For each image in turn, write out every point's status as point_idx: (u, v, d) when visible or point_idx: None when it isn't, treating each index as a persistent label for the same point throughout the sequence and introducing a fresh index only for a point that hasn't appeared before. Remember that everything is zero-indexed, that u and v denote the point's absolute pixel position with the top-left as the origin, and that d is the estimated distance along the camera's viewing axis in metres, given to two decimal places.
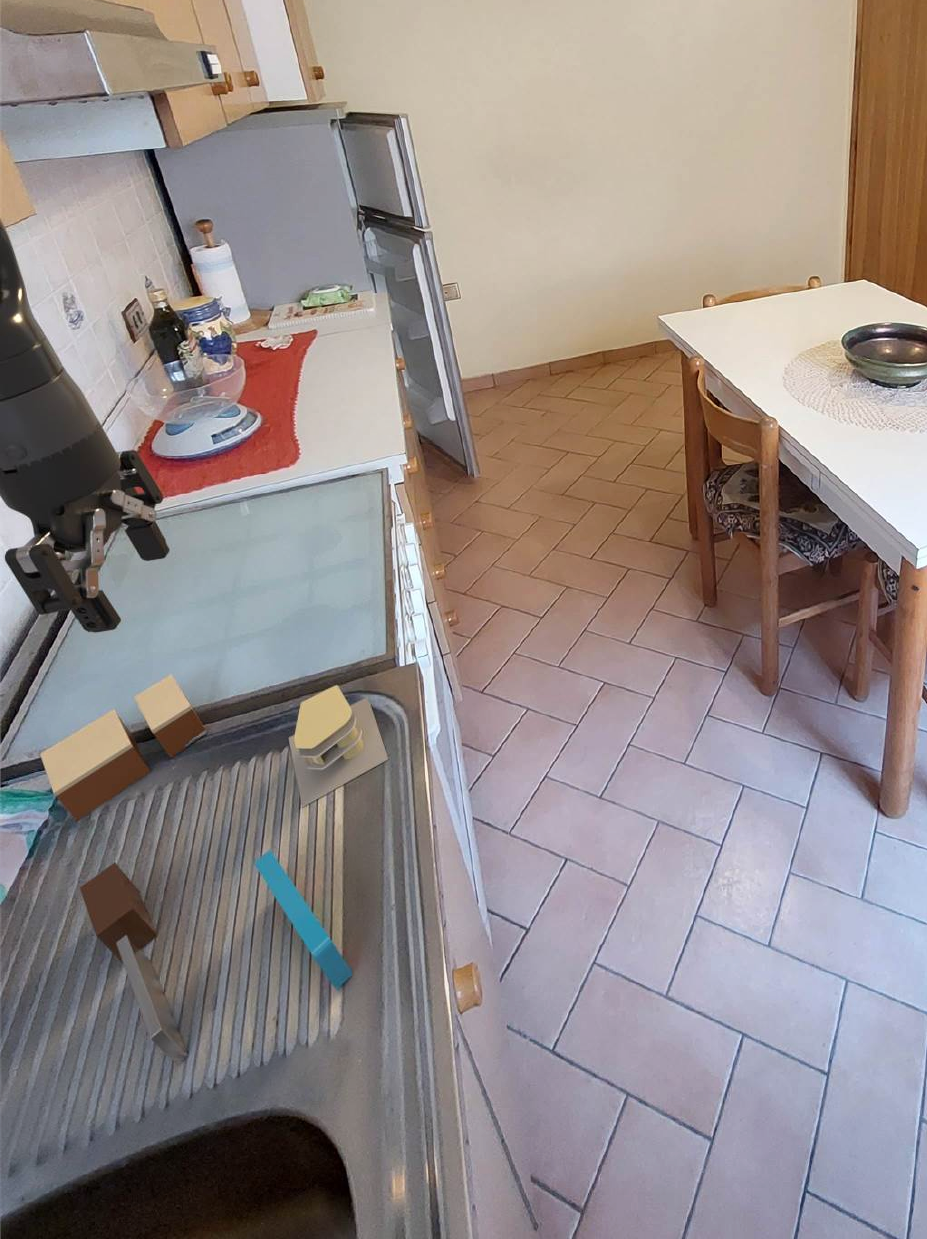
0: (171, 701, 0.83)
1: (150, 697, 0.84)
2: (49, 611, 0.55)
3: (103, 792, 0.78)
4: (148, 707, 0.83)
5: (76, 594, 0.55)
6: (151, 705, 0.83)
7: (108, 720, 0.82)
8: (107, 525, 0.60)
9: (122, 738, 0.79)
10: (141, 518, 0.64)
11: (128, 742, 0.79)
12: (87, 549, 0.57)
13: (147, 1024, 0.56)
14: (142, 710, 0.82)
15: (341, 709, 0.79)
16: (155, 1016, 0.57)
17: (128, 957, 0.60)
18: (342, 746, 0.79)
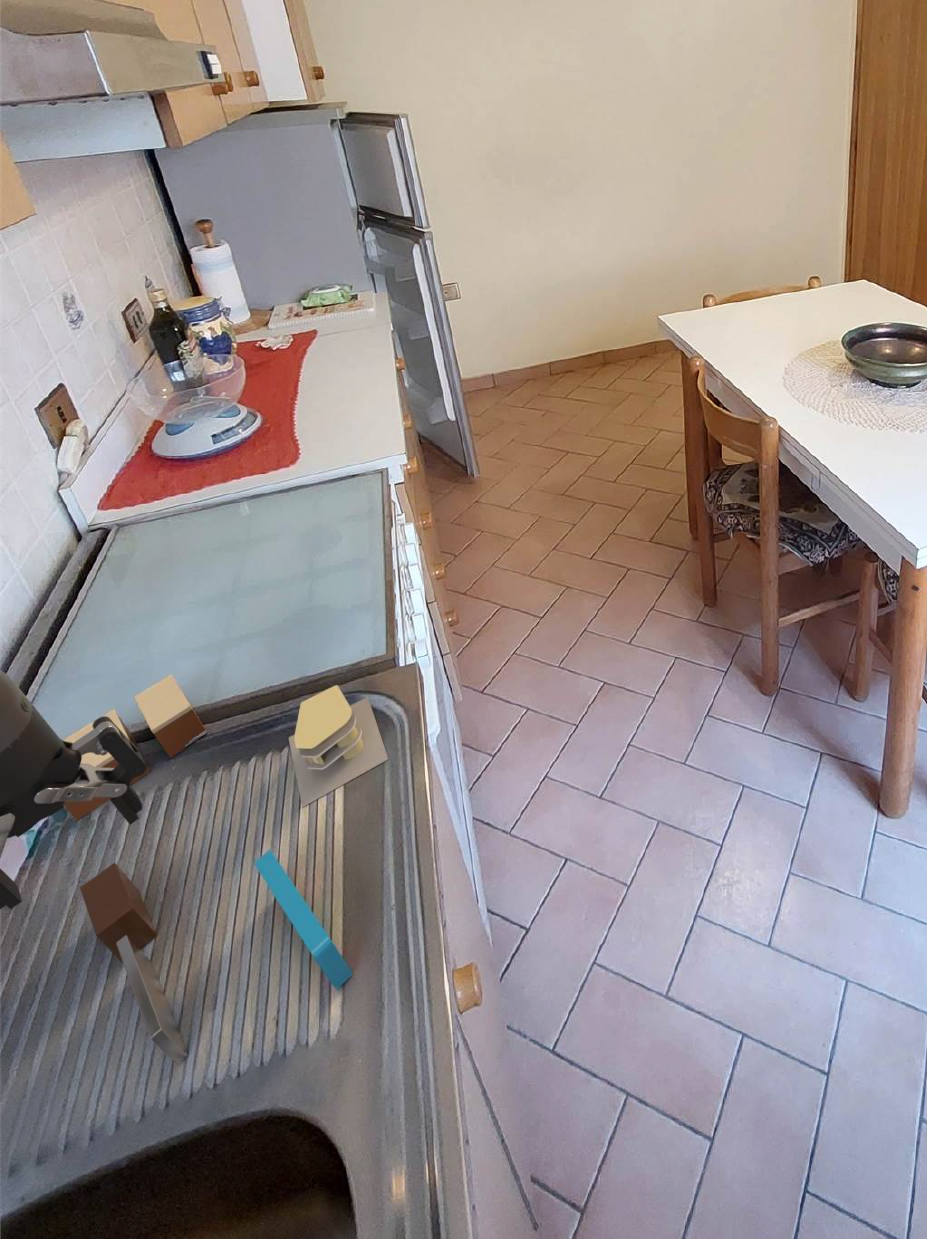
0: (171, 701, 0.83)
1: (150, 697, 0.84)
2: None
3: None
4: (148, 707, 0.83)
5: None
6: (151, 705, 0.83)
7: None
8: (33, 815, 0.58)
9: None
10: (99, 796, 0.61)
11: None
12: None
13: (147, 1024, 0.56)
14: (142, 710, 0.82)
15: (341, 709, 0.79)
16: (155, 1016, 0.57)
17: (128, 957, 0.60)
18: (342, 746, 0.79)
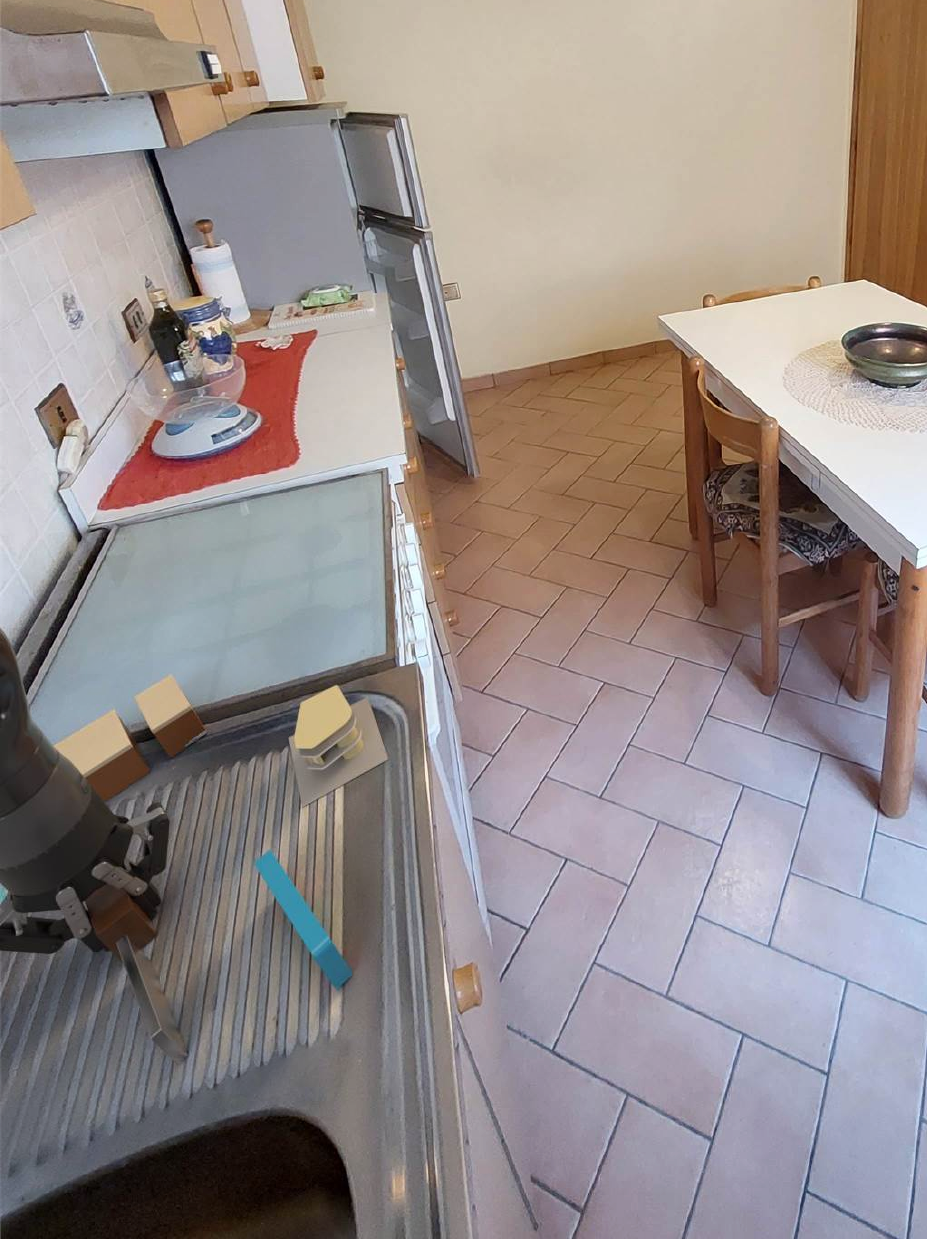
0: (171, 701, 0.83)
1: (150, 697, 0.84)
2: None
3: (103, 792, 0.78)
4: (148, 707, 0.83)
5: (57, 940, 0.62)
6: (151, 705, 0.83)
7: (108, 720, 0.82)
8: (89, 886, 0.62)
9: (122, 738, 0.79)
10: (124, 889, 0.65)
11: (128, 742, 0.79)
12: None
13: (147, 1024, 0.56)
14: (142, 710, 0.82)
15: (341, 709, 0.79)
16: (155, 1016, 0.57)
17: (128, 957, 0.60)
18: (342, 746, 0.79)
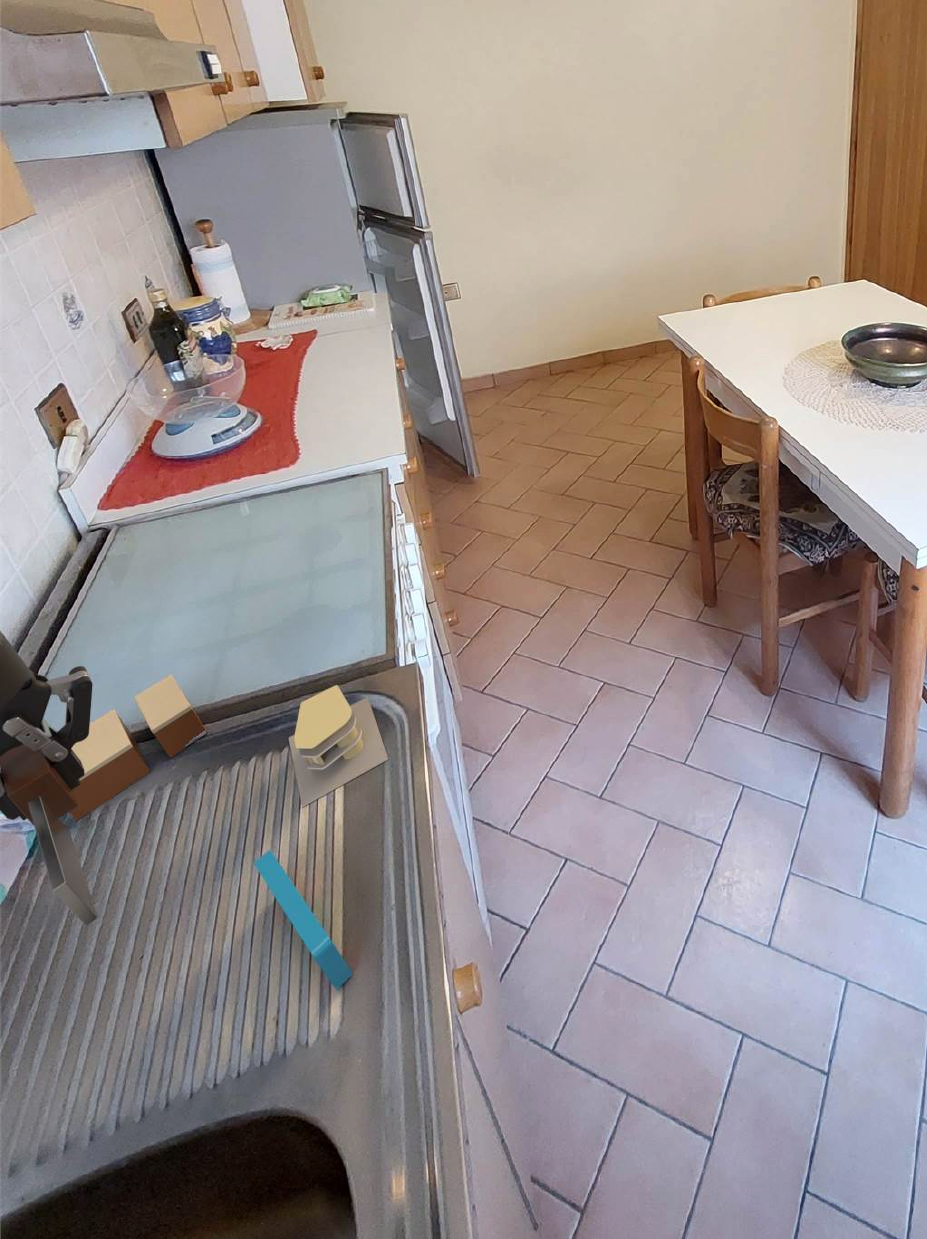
0: (171, 701, 0.83)
1: (150, 697, 0.84)
2: None
3: (103, 792, 0.78)
4: (148, 707, 0.83)
5: None
6: (151, 705, 0.83)
7: (108, 720, 0.82)
8: (1, 744, 0.59)
9: (122, 738, 0.79)
10: (41, 753, 0.61)
11: (128, 742, 0.79)
12: None
13: (51, 877, 0.52)
14: (142, 710, 0.82)
15: (341, 709, 0.79)
16: (61, 870, 0.53)
17: (39, 816, 0.56)
18: (342, 746, 0.79)
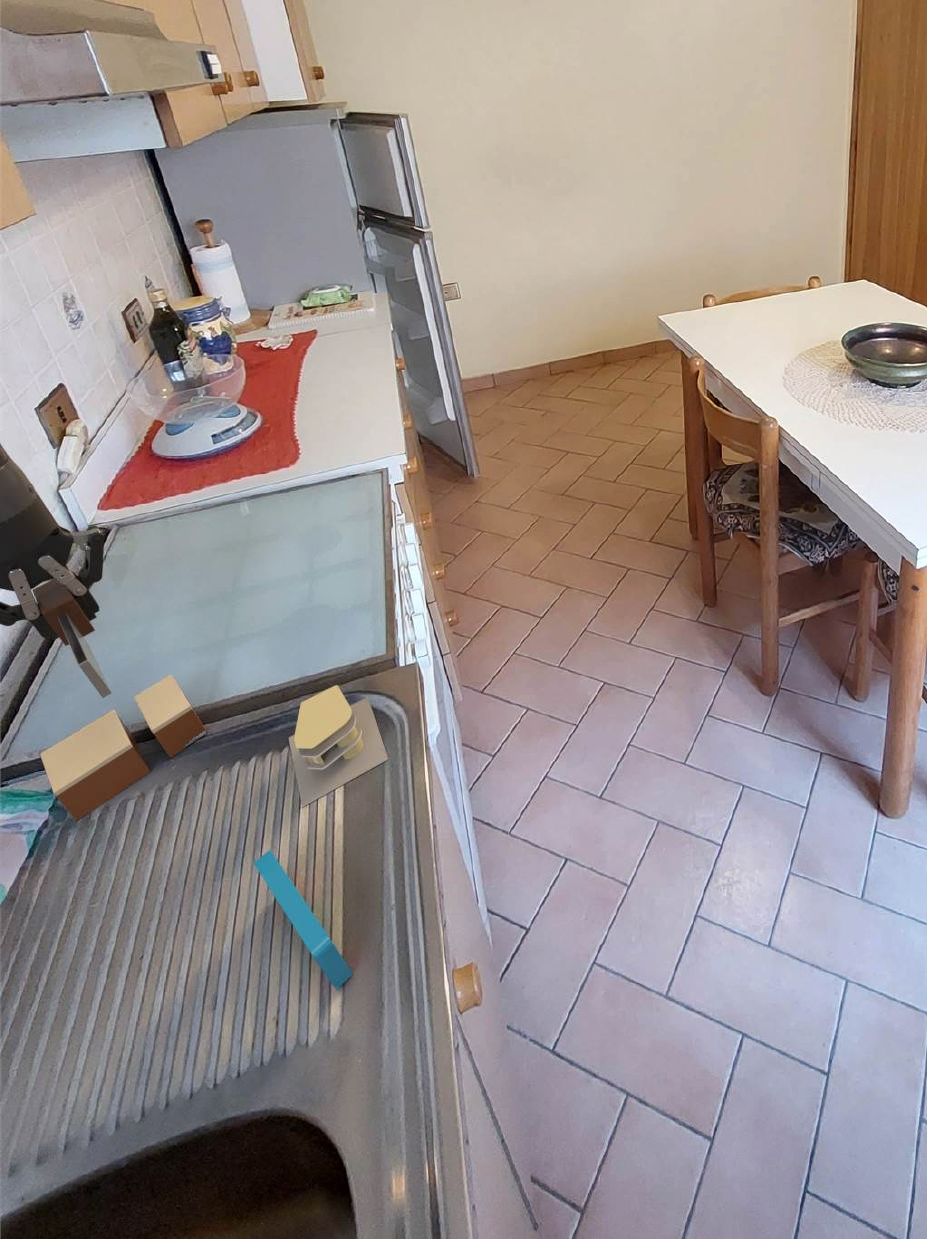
0: (171, 701, 0.83)
1: (150, 697, 0.84)
2: None
3: (103, 792, 0.78)
4: (148, 707, 0.83)
5: (11, 616, 0.77)
6: (151, 705, 0.83)
7: (108, 720, 0.82)
8: (37, 577, 0.78)
9: (122, 738, 0.79)
10: (66, 587, 0.80)
11: (128, 742, 0.79)
12: (16, 593, 0.77)
13: (77, 658, 0.72)
14: (142, 710, 0.82)
15: (341, 709, 0.79)
16: (84, 653, 0.72)
17: (66, 624, 0.76)
18: (342, 746, 0.79)
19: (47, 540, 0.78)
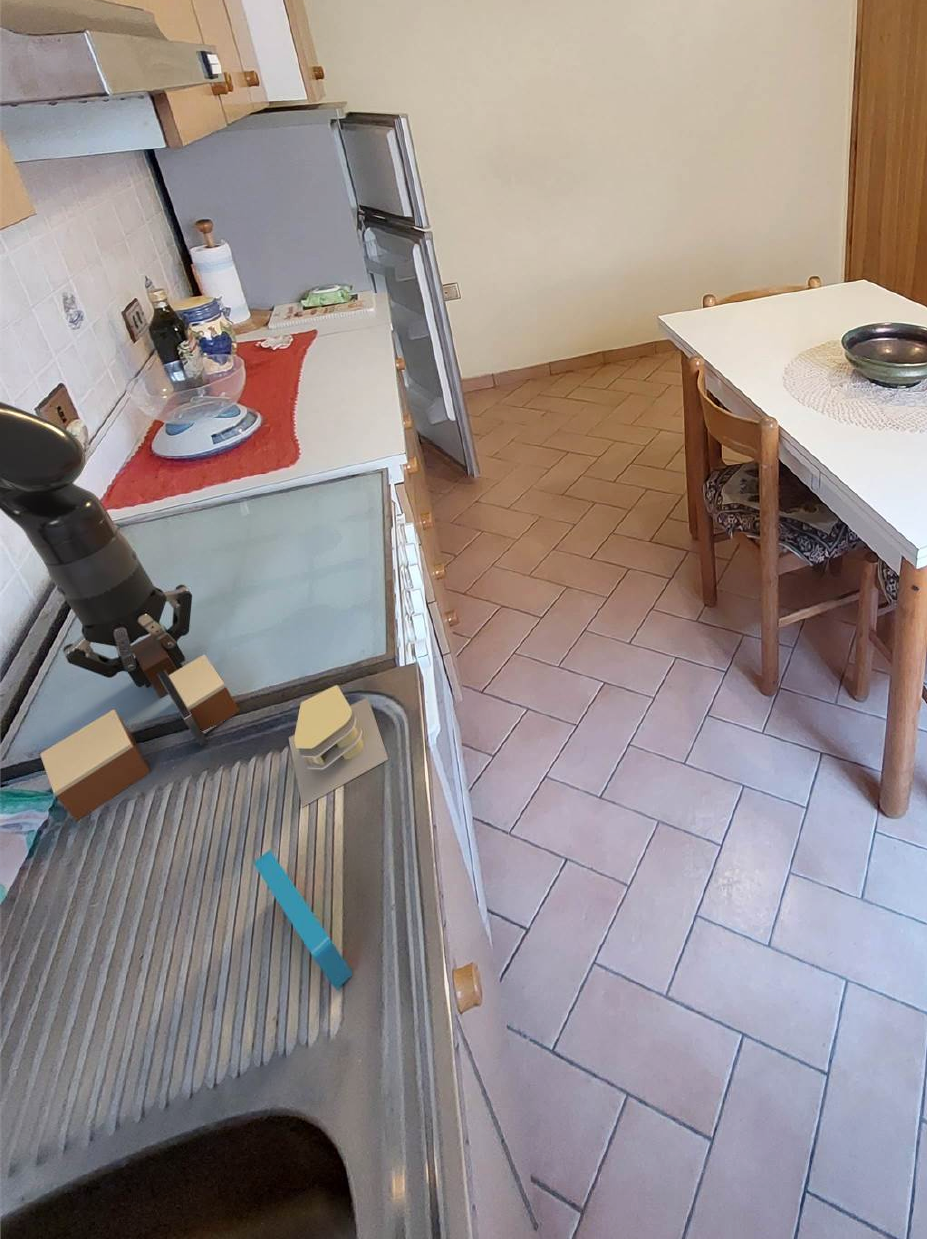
0: (205, 679, 0.85)
1: (184, 675, 0.86)
2: None
3: (103, 792, 0.78)
4: (183, 685, 0.85)
5: (113, 668, 0.87)
6: (186, 683, 0.85)
7: (108, 720, 0.82)
8: (135, 633, 0.88)
9: (122, 738, 0.79)
10: (159, 641, 0.90)
11: (128, 742, 0.79)
12: (118, 648, 0.86)
13: (181, 712, 0.82)
14: (177, 688, 0.85)
15: (341, 709, 0.79)
16: (187, 708, 0.82)
17: (166, 681, 0.86)
18: (342, 746, 0.79)
19: (145, 600, 0.87)
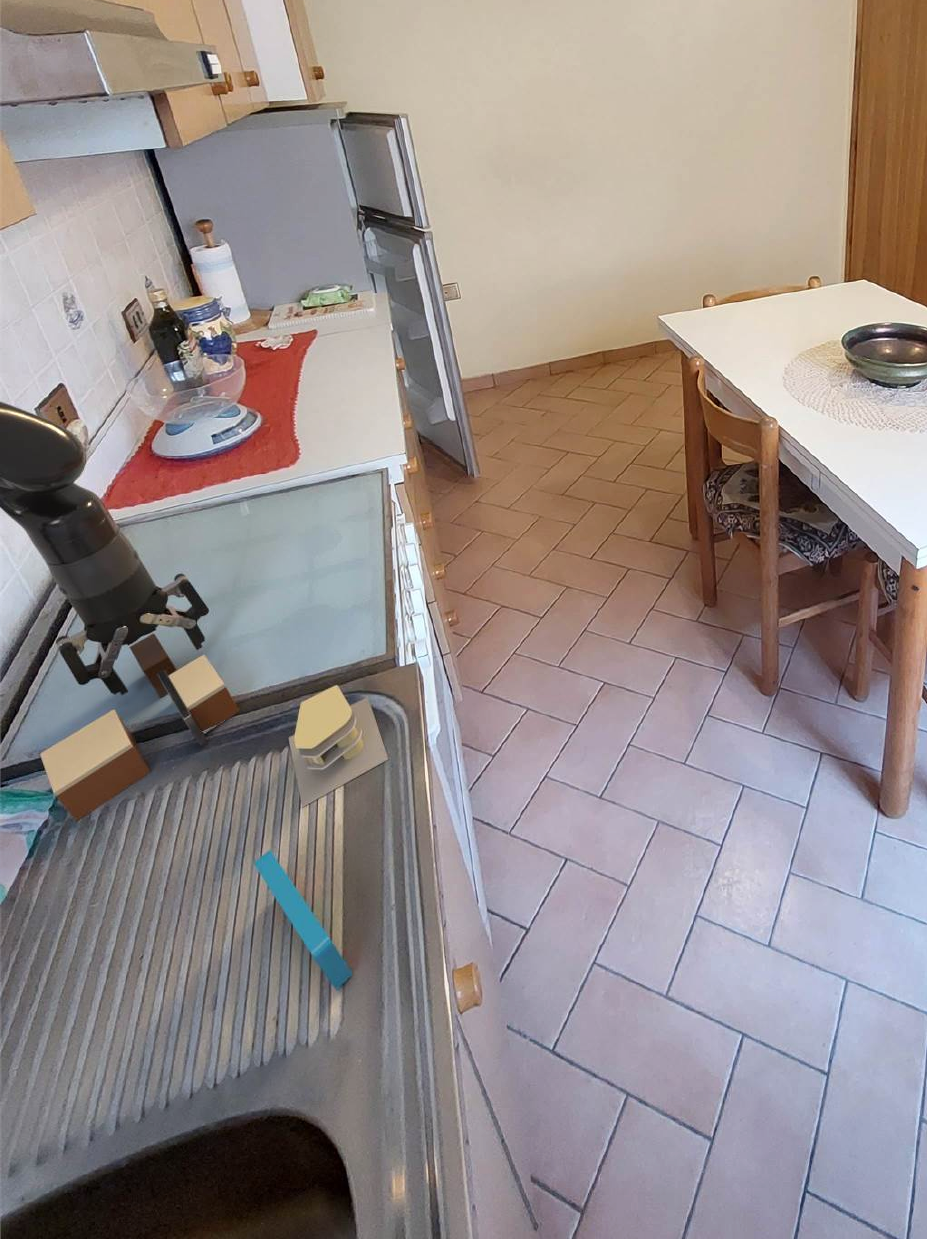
0: (205, 679, 0.85)
1: (184, 675, 0.86)
2: None
3: (103, 792, 0.78)
4: (183, 685, 0.85)
5: (86, 676, 0.85)
6: (185, 683, 0.85)
7: (108, 720, 0.82)
8: (137, 632, 0.88)
9: (122, 738, 0.79)
10: (178, 626, 0.91)
11: (128, 742, 0.79)
12: (107, 649, 0.85)
13: (181, 713, 0.82)
14: (177, 688, 0.85)
15: (341, 709, 0.79)
16: (187, 709, 0.82)
17: (166, 681, 0.86)
18: (342, 746, 0.79)
19: (147, 599, 0.87)
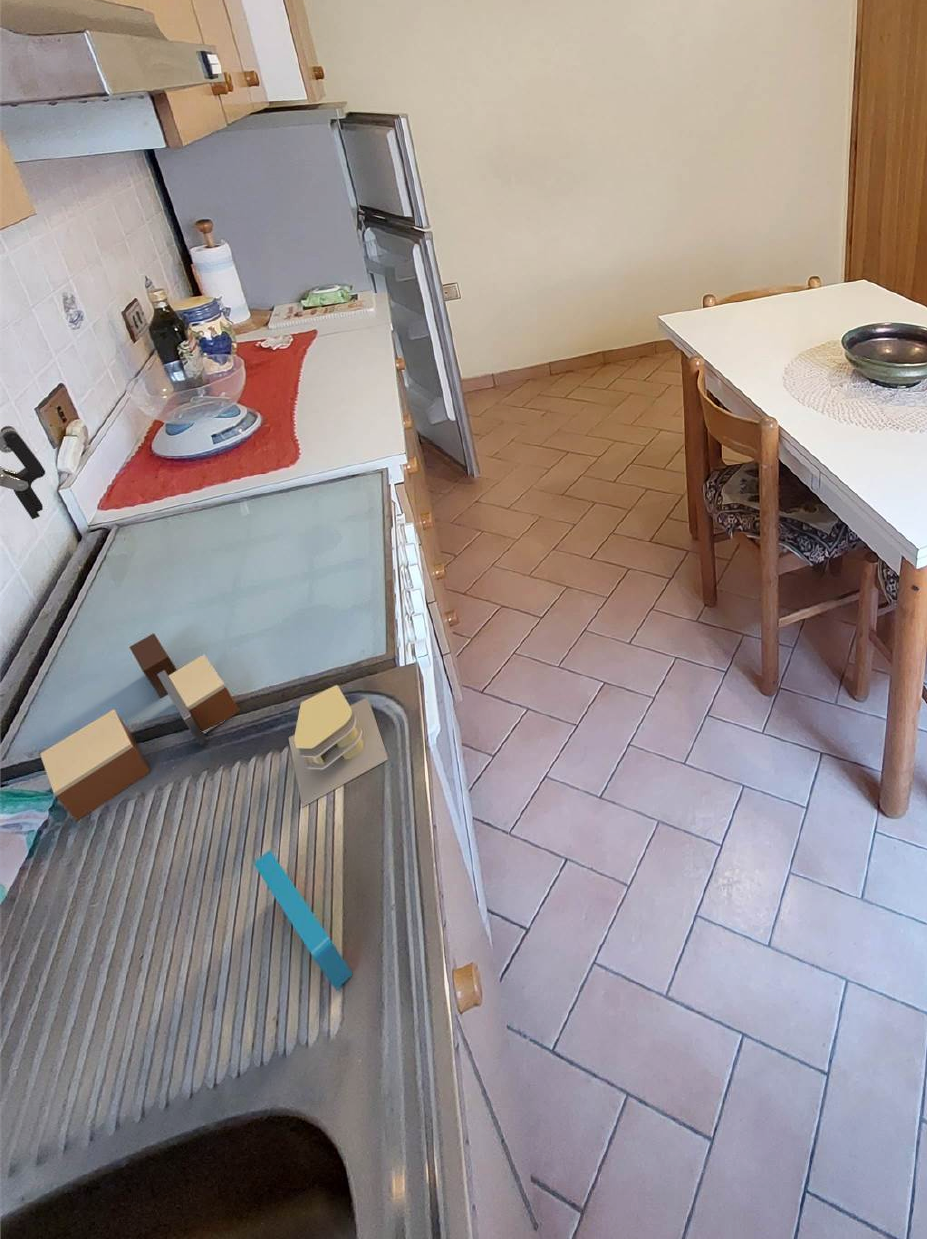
0: (205, 679, 0.85)
1: (184, 675, 0.86)
2: None
3: (103, 792, 0.78)
4: (183, 685, 0.85)
5: None
6: (186, 683, 0.85)
7: (108, 720, 0.82)
8: None
9: (122, 738, 0.79)
10: (4, 486, 0.78)
11: (128, 742, 0.79)
12: None
13: (181, 713, 0.82)
14: (177, 688, 0.85)
15: (341, 709, 0.79)
16: (187, 709, 0.82)
17: (166, 681, 0.86)
18: (342, 746, 0.79)
19: None
